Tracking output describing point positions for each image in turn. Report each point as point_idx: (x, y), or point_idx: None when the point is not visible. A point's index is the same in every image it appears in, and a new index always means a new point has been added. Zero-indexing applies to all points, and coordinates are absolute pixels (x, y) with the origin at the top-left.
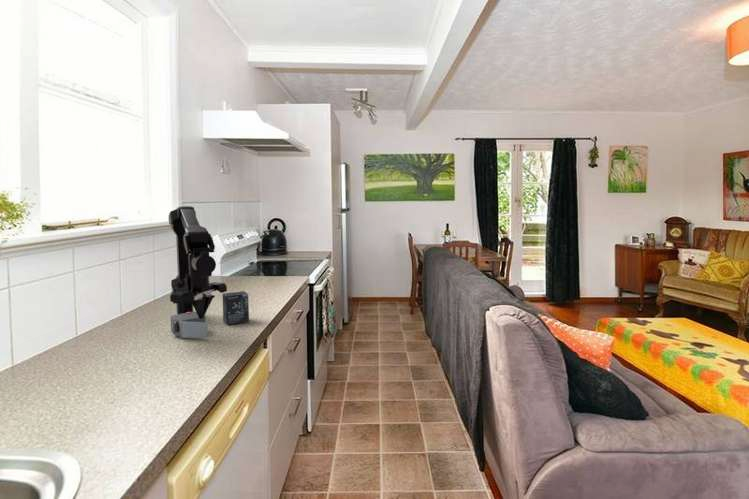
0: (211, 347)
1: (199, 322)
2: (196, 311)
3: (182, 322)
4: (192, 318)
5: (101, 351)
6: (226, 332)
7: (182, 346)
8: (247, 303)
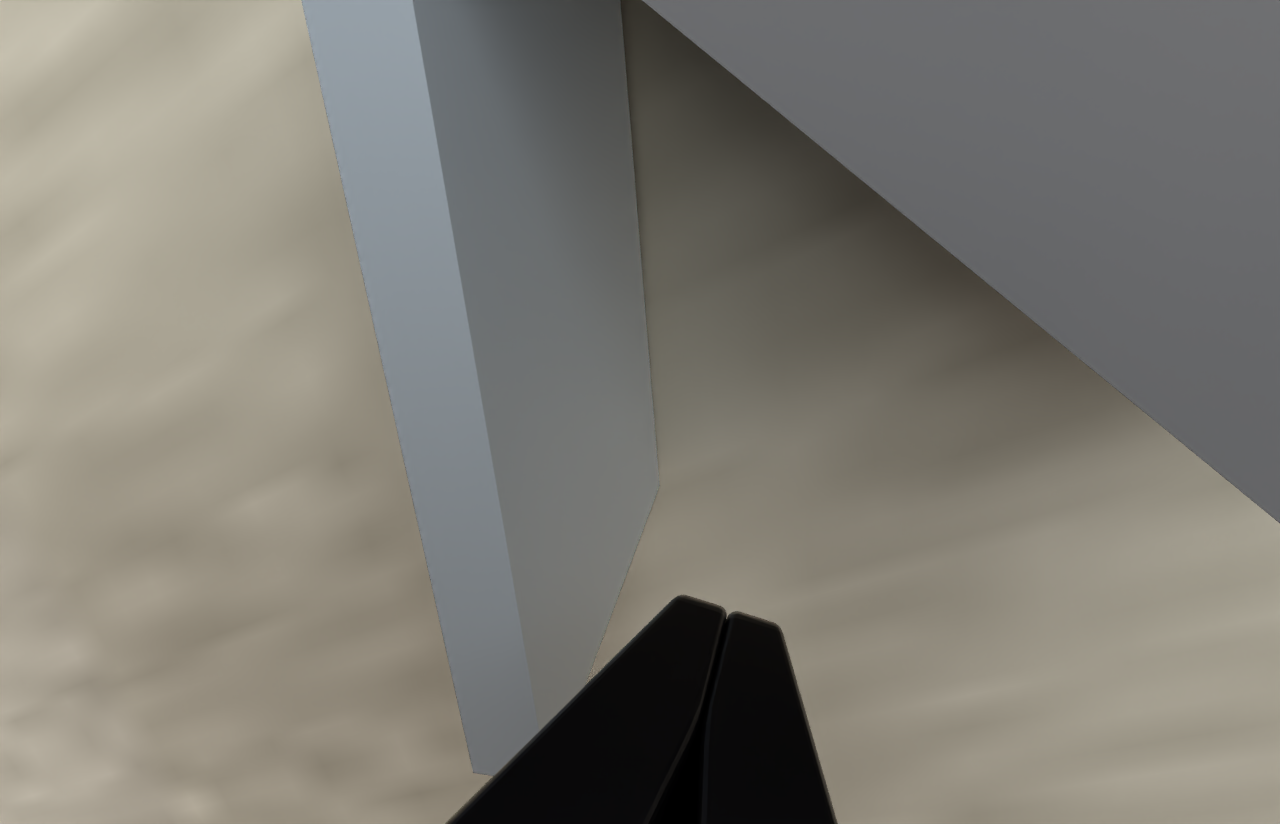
0: (271, 671)
1: (470, 623)
2: (492, 795)
3: (305, 14)
4: (930, 174)
5: None
6: (1200, 680)
7: (101, 179)
8: None
